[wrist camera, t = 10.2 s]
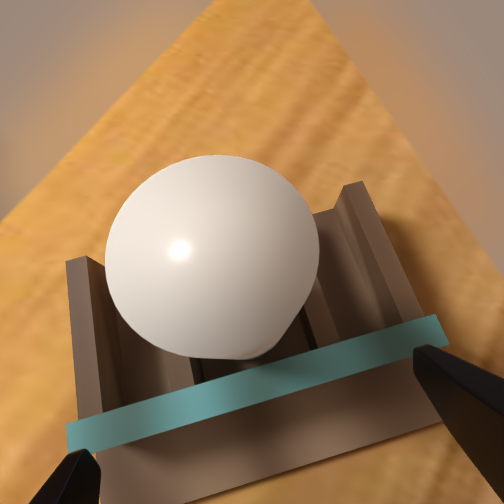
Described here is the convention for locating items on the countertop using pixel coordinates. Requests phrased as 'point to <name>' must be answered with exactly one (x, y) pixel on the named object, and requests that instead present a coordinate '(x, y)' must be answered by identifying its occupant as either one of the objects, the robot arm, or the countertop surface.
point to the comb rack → (254, 376)
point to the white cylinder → (212, 258)
